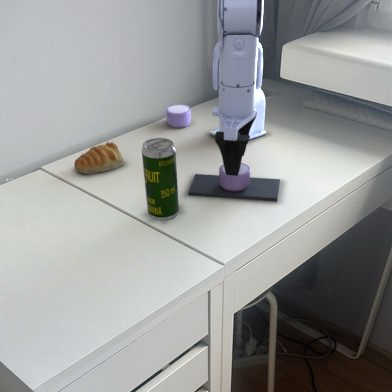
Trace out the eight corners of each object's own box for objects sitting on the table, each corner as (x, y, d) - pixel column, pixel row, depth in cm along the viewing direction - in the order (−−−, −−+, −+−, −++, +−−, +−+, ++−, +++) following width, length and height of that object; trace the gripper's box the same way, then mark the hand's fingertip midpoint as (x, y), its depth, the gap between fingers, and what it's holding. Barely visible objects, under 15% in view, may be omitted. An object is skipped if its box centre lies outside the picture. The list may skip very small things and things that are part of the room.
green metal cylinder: (162, 202, 90) (157, 134, 81) (185, 211, 87) (182, 142, 79) (141, 214, 87) (133, 145, 78) (164, 225, 84) (158, 154, 76)
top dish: (229, 175, 95) (229, 159, 93) (255, 183, 93) (256, 166, 90) (213, 188, 92) (213, 171, 89) (239, 196, 89) (240, 178, 87)
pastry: (86, 180, 96) (82, 161, 94) (69, 168, 100) (64, 149, 97) (127, 165, 100) (124, 146, 98) (109, 154, 104) (106, 136, 101)
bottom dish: (182, 117, 117) (181, 102, 115) (196, 124, 114) (195, 109, 112) (161, 123, 115) (160, 108, 113) (175, 130, 112) (174, 115, 109)
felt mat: (188, 195, 91) (187, 192, 91) (195, 176, 96) (195, 173, 96) (277, 201, 89) (277, 198, 88) (279, 182, 94) (280, 179, 93)
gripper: (220, 66, 85) (219, 145, 95) (204, 96, 75) (205, 182, 85) (262, 67, 84) (257, 147, 94) (251, 98, 74) (247, 185, 84)
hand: (235, 164), depth 89 cm, fingers open, 7 cm apart
